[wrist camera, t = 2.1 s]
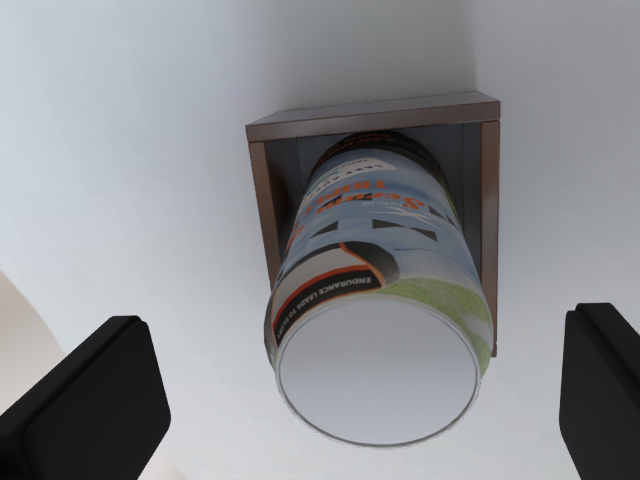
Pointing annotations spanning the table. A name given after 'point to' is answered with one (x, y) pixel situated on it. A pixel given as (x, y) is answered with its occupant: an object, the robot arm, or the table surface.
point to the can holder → (468, 108)
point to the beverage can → (378, 300)
